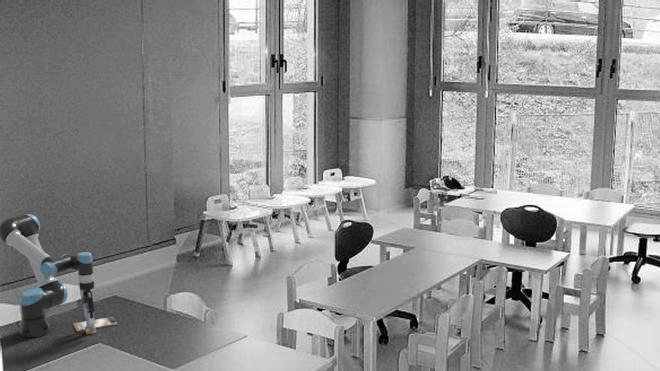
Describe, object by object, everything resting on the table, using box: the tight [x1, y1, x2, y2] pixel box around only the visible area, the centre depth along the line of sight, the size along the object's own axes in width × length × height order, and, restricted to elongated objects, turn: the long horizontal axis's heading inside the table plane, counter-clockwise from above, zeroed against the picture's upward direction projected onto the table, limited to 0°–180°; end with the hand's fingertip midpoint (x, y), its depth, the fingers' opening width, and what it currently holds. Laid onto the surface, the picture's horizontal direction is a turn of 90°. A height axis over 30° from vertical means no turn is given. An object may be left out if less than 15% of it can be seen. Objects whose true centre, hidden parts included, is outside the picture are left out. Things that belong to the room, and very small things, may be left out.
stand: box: [84, 325, 97, 335], centre depth 434 cm, size 5×5×3 cm
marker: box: [83, 303, 94, 328], centre depth 433 cm, size 4×4×14 cm
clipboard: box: [72, 316, 119, 333], centre depth 446 cm, size 22×14×1 cm, turn 116°
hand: (89, 320), depth 433 cm, fingers open, 12 cm apart
